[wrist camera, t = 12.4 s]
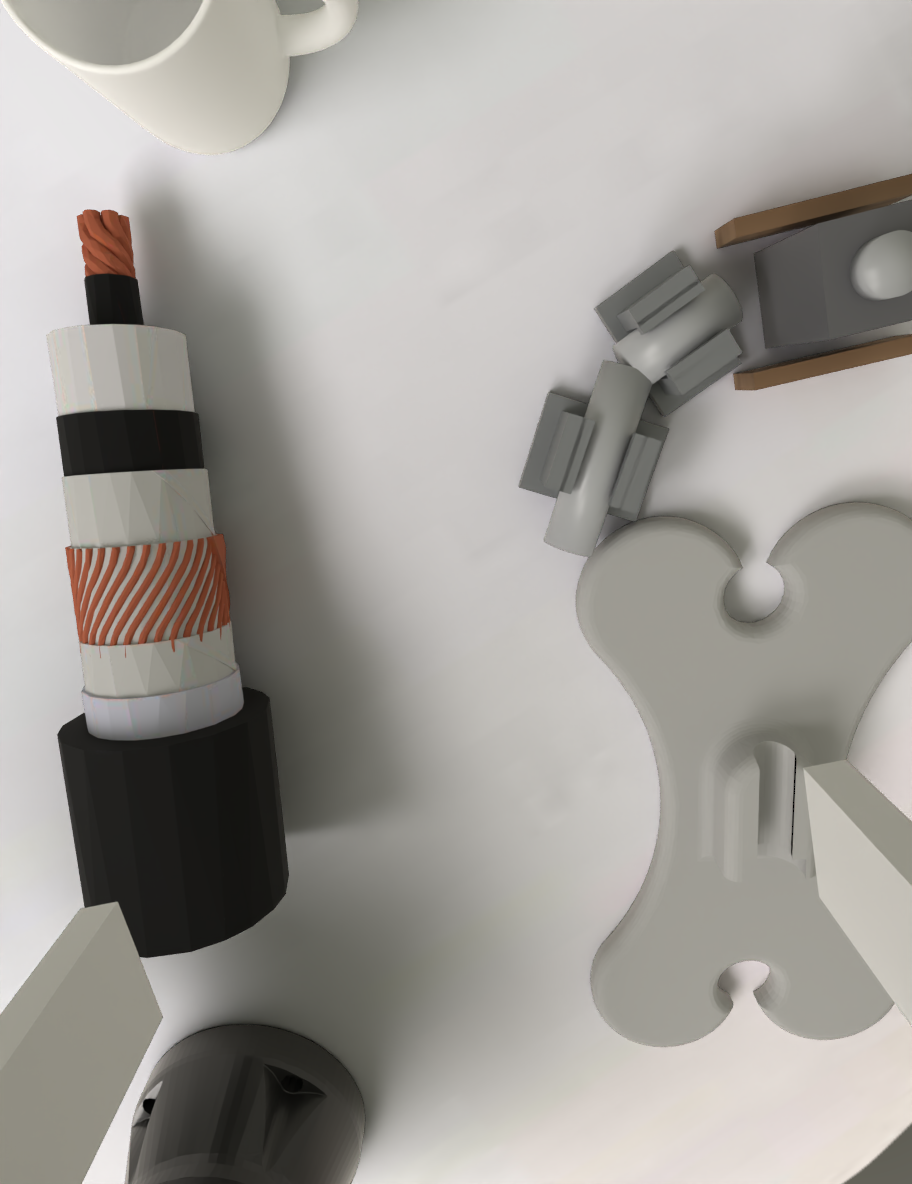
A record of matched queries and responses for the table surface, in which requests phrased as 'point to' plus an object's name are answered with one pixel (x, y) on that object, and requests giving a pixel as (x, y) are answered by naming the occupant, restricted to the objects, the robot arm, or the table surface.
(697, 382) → the clip
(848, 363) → the end holder
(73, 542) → the cable
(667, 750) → the holder
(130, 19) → the mug
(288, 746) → the table surface
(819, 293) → the block
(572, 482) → the clip
